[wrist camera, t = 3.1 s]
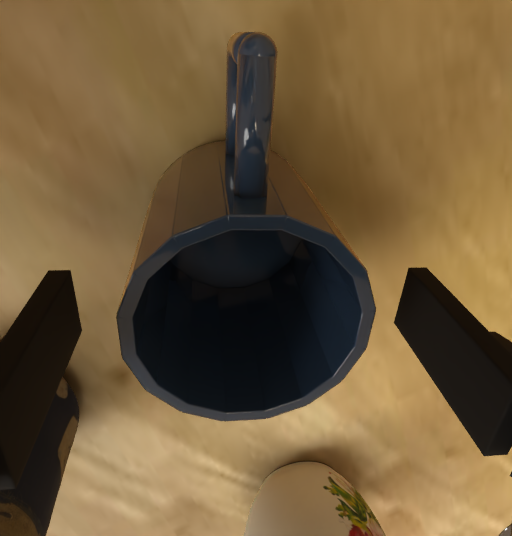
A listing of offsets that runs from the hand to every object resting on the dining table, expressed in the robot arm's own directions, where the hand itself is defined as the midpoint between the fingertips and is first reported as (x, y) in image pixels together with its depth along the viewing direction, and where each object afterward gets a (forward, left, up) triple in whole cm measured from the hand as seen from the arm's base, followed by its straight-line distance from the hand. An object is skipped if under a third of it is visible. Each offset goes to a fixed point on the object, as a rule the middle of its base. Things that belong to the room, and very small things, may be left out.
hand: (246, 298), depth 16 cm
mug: (-3, 0, -7) cm, 7 cm away
